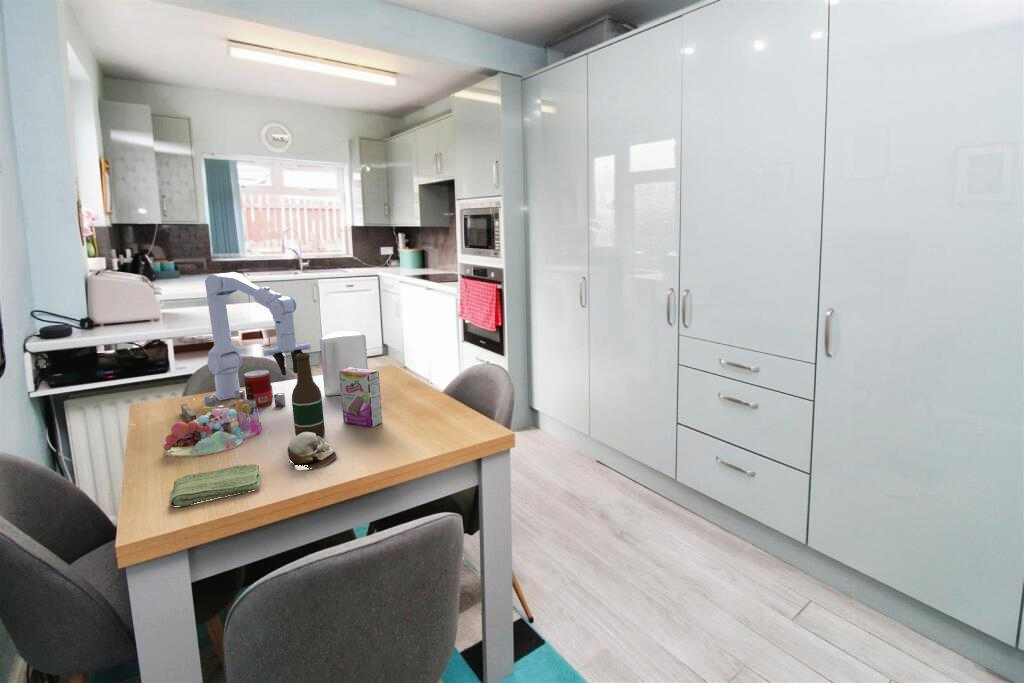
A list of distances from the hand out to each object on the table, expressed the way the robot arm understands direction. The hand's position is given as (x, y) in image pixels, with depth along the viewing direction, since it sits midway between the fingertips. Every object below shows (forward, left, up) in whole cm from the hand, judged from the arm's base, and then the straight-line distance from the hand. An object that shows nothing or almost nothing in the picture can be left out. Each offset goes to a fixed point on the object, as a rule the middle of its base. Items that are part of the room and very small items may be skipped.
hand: (289, 373), depth 182 cm
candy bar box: (+35, +9, -11) cm, 38 cm away
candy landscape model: (+18, -27, -11) cm, 34 cm away
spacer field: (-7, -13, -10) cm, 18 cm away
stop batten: (-7, -30, -10) cm, 32 cm away
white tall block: (-1, +21, -11) cm, 24 cm away
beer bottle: (+36, -7, -11) cm, 38 cm away
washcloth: (+53, -34, -11) cm, 64 cm away
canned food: (-7, -9, -11) cm, 15 cm away
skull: (+52, -13, -11) cm, 55 cm away
